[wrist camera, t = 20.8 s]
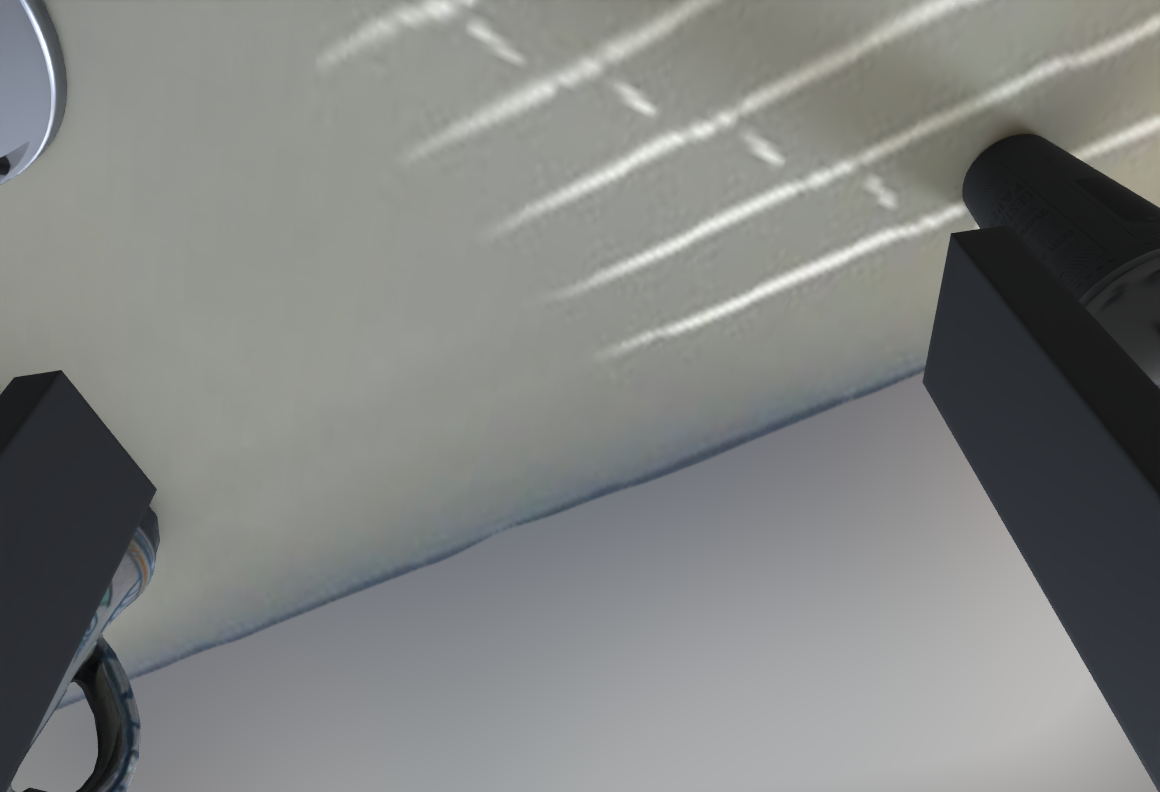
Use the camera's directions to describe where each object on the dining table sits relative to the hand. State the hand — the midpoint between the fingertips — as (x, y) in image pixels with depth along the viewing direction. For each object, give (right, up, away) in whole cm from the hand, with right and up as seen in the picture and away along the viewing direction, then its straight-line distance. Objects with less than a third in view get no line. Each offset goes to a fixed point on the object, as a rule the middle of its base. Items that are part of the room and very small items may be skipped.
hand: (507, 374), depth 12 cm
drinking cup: (+24, +12, +30) cm, 40 cm away
